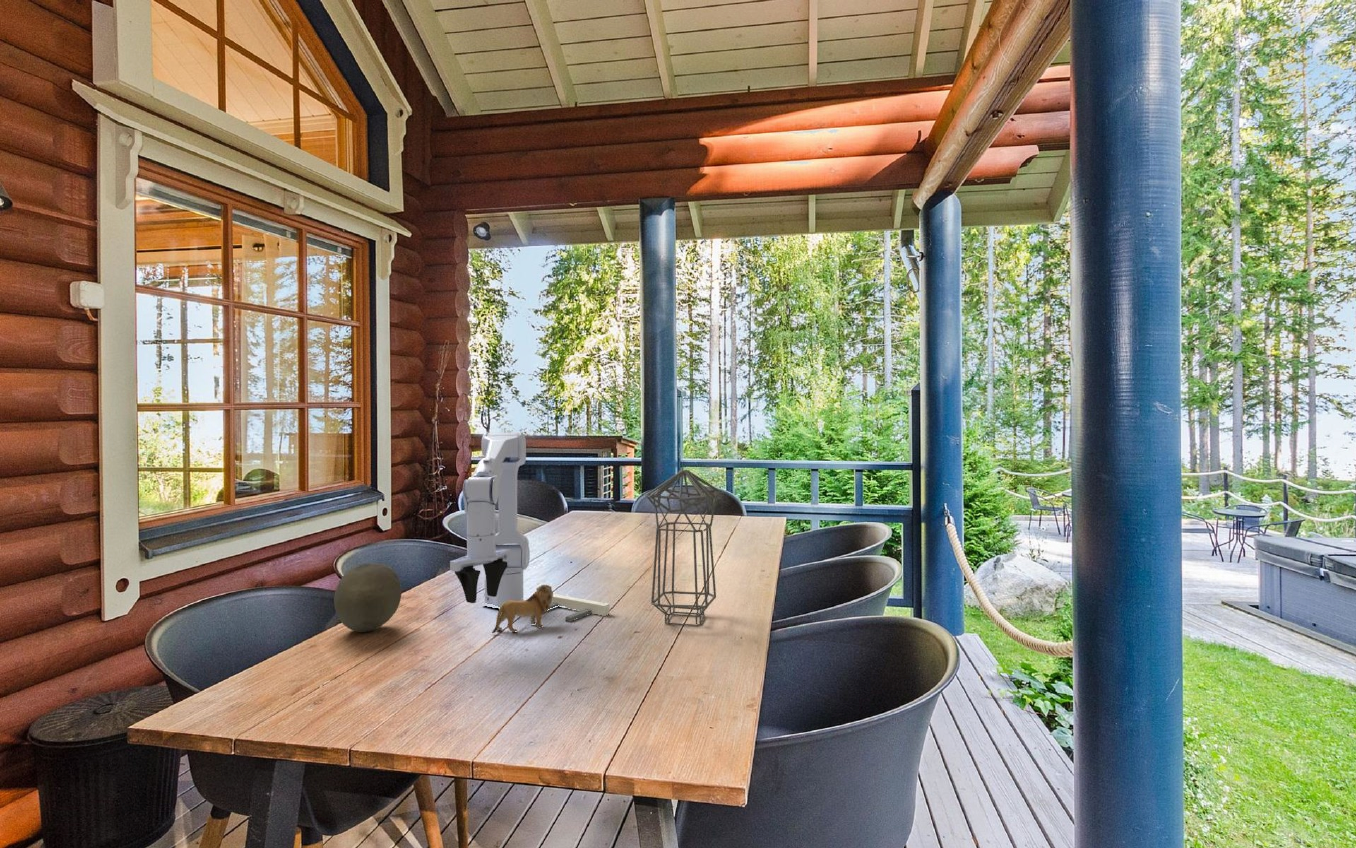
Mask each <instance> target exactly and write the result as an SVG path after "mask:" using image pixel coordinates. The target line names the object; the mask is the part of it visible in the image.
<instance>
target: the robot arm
mask: <svg viewBox="0 0 1356 848" xmlns="http://www.w3.org/2000/svg"><path fill="white" fill-rule="evenodd" d="M480 443H481V445H480V446H481V447H480V448H481V455H482V456H483V457H484V458H482V459H480V460H479V462H478V463H477V465H476V467H475V469H474V471H473V473H472V476H470V477H468V479H464V481H463V484H462V500H463V504H464V512H465V514H466V555H465V556H461V557H459V558H457V559H453V560H450V561H449V571H452V572H454V574H455V576H456V577H457V579H458V581H459V582H460V585H461V587H462V589H463V594H464V596H465V597H464V598H465V601H466V603H470V604H476V603H477V596H478V592H477V591H478V582H479V577H480V574H481V570H477V569H476V568H475V567H477V566H478V567H479V566H481V565H482V566H483V570H484V574H485V577H484V604H485V603H487V604H493V605H495V606H498V607H501V606H502V605H503V604H504V603H505V602H507V601H510V600H514V601H524V600H525V598H524V570H526V569H528V567H529V564H530V558H531V557H530V556H531V554H530V545H529V544H530V543H529V539H528V537H527V536H525V534H523V533H521V532H520V531H519V530H518V472H519V468H520V466H521V467H522V466H523V465H525V464H526V461H527V439H526V435H525V434H524V433H523V431H522V432H521V431H519V432H487V431H486V432H485V433H484V434H483V435H482V436H481V442H480ZM497 503H498V505H497V506H498V525H497V527H498V532H496V504H497Z"/></svg>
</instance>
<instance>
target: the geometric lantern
mask: <svg viewBox="0 0 1356 848" xmlns="http://www.w3.org/2000/svg"><path fill="white" fill-rule="evenodd" d="M687 479H688V481H689V482H690V484H691V485H692V487H693V488H694V489H695V491H696V493H693V492H691V493H690V492H689V487H688V481H687ZM679 481H680V482H679ZM678 482H679V483H680V485H679V490H677V489H676V487H677V485H678ZM683 484H684V485H683ZM683 486H684V487H685V491H683ZM706 486H707V487H709V488H711V489H708V488H707V487H706ZM670 487H672V488H671V489H670ZM664 492H667V493H668V496H667V495H662V494H663V493H664ZM675 493H676V494H675ZM720 493H722V490H720V489H719V488H717V487H715V486H713V485H712V484H711V483H709V482H707V481H705V480H704V479H702V478H701V477H699V476H698V475H696V474H694V473H693V472H691V471H690V470H689V469H680V470H679V471H678V472H677V473H676V474H675V475H673V476H671V477H670V478H668V479H667V480H666V481H664V482H663V483H661V484H659V485H658V486H656V487H655V488H654V489H652V490H651V491H649V492H647V493H646V494H645V498H646V499H647V500H648V501H649V502H650V503H651V504H652V506H653V507H654V511H655V512H654V514H655V523H656V530H655V545H654V559H653V560H654V561H653V573H652V584H651V585H652V586H651V587H652V588H651V589H652V590H651V602H650V603H651V605H652V606H653V607H655V608H656V609H658V610H659V611H660V612H661V613H662V614H663V615H664V624H666V625H673V626H687V627H688V626H689V627H698V626H702V624H703V621H704V619H705V616H706V614H705V611H706V610H707V609H708V607H709V606H710V605H711V604H712V603H713V602H714V600H715V599H717V593H716V592H717V591H716V590H717V588H716V579H715V578H716V577H715V576H716V575H715V566H714V562H715V561H714V552H713V551H714V550H713V539H712V526H713V520H714V515H715V511H716V510H715V509H716V507H717V502H718V501H717V500H718V497H719V496H720ZM677 494H679V496H678V495H677ZM683 495H687V497H684V498H683ZM690 496H691V497H690ZM661 499H665V500H666V502H667V505H668V507H667V506H666V505H665V504H663V503H661ZM670 500H678V502H679V507H680V508H678V509H672V508H671V505H670V504H671V503H670ZM692 500H694V501H692ZM706 500H707V507H708V508H707V509H706V510H705V513H704V515H702V513H701V511H700V509H699V507H698V506H700V504H701V503H702V502H704V501H706ZM690 501H692V502H690ZM682 504H684V505H682ZM692 506H694V507H696V509H697V512H698V514H699V516H700V517H701V519H702V520H701V522H692V521H691V519H690V518H689V516H688V514H687V512H686V511H685V510H686V509H688V508H690V507H692ZM658 508H659V510H660V512H661V515H662V517H663V518H662V520H661V521H660V523H659V517H658ZM661 508H663V509H665V510H666V513H665V515H664V512H663V511H662V509H661ZM708 511H711V517H710V522H709V523H707V522H706V521H705V519H706V516H707V513H708ZM678 512H679V513H678ZM668 513H678V514H677V516H676V518H675V520H674V521H672V522H671V521H670V522H668V520H667V519H666V517H667V515H668ZM682 514H683V515H684V516H685V518H686V520H687V522H682V521H681V522H679V521H678V520H679V519H680V516H681V515H682ZM664 521H665V523H664ZM669 525H673V527H672V528H673V529H671V528H669ZM676 525H690V526H691V528H692V529H693V530H692V529H676ZM694 525H699V527H698V529H697V528H695V526H694ZM703 525H704V526H705V528H704V529H701V528H702V526H703ZM664 526H665V528H662V527H664ZM661 531H665V540H664V541H665V544H664V561H663V562H664V563H663V578H662V579H663V580H662V581H663V582H662V593H661V539H662V538H661V536H662V535H661V534H662V533H661ZM669 532H672V561H671V563H672V564H671V565H672V567H671V571H672V572H671V590H670V591H665V590H666V578H667V577H666V576H667V559H668V541H669ZM676 532H685V533H693V534H692V535H693V541H692V542H693V565H694V568H693V569H694V591H682V590H681V591H680V590H678V591H677V590H675V558H676V556H675V554H676ZM704 532H705V535H706V536H705V538H706V539H705V540H704ZM696 533H700V543H701V545H700V546H701V561H702V572H703V573H702V576H703V591H704V592H698V590H699V589H698V566H697V562H698V561H697V543H696V542H697V539H696ZM704 541H706V555H705V543H704ZM709 548H710V549H709ZM709 552H710V553H709ZM709 555H710V556H709ZM705 556H706V557H705ZM705 558H706V559H705ZM710 562H711V576H712V589H713V594H712V593H710ZM656 573H657V597H656V598H655V586H656ZM674 594H675V595H676V594H678V595H679V594H680V595H695V596H694V597H695V598H694V599H695V605H694V604H675V595H674ZM667 595H671V597H672V604H671V602H670V599H668V597H667ZM699 595H700V596H704V600H703V601H702V603H701V605H699V599H698V598H699ZM663 596H664V598H665V600H666V601H667V603H668V604H664V603H663V604H661V598H662V597H663ZM709 596H710V597H712V598H711V599H710V600H709V601H708V597H709ZM704 604H705V605H704ZM665 608H667V610H665ZM676 609H684V610H692V611H693V610H694V611H696V612H685V611H676ZM668 612H669V613H668ZM671 616H675V617H676V616H677V617H688V618H690V617H691V618H695V623H676V622H670V617H671ZM698 619H699V622H698Z"/></svg>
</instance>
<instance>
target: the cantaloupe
mask: <svg viewBox="0 0 1356 848" xmlns="http://www.w3.org/2000/svg"><path fill="white" fill-rule="evenodd" d="M402 592H403V591H402V583H401V581H400V578H399V575H398V574H397V572H396V570H394V569H393V568H392V567H391V566H389V565H386V564H384V563H379V562H366V563H361V564H358V565H356V566H355V567H352V568H351V569H349V570H347V571H346V572H345V573H344V575H343V576H342V577H341V579H340V581H339V582H338V585H337V586H336V589H335V591H334V596H333V604H334V610H335V612H336V615H337V616H338V619H339V620H340V622H341V624H342V625H344V626H345V627H346V628H348V629H350V630H351V631H354V632H357V633H366V632H365V631H368V632H371V630H372V631H374V630H377V629H379V628H380V627H381V626H383V625H385V624H386V623H387V622H389V620H391V618H392V617H393V616H394V615H395V613H397V610H398V609H399V605H400V603H401V598H402V594H403V593H402Z"/></svg>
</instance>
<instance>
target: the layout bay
mask: <svg viewBox="0 0 1356 848" xmlns="http://www.w3.org/2000/svg"><path fill="white" fill-rule="evenodd" d="M558 605H559V606H565V607H567V608H570V609H576V610H579V611H576V612H575V613H572V614H568V615H566V616H565V621H566V620H568V621H572V620H574V619H576V618H580V617H582V616H585V615H587V614H590V615H594V614H598V615H597V616H600V615H602V616H601V617H606V615H607V616H609V615H610V614H611V613H610V609H611V607H610V603H606V602H601V601H595V600H590V599H584V598H579V597H573V596H566V595H562V594H557V593H553V597H552V602H551V604H550V606H549V609H550V608H553V607H555V606H558ZM591 613H592V614H591ZM608 614H609V615H608ZM587 616H588V615H587ZM585 617H586V616H585ZM582 618H583V617H582ZM580 619H581V618H580ZM568 621H567V622H568ZM572 622H573V621H572Z"/></svg>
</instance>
